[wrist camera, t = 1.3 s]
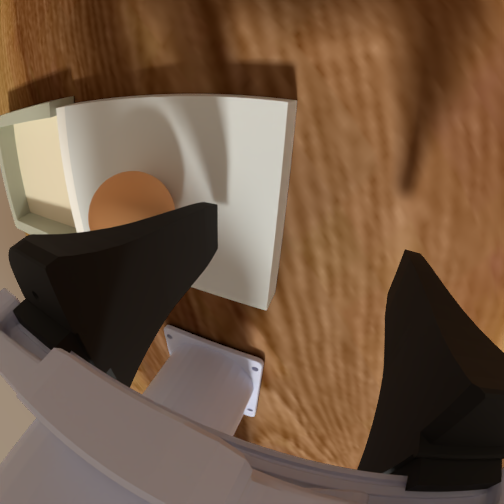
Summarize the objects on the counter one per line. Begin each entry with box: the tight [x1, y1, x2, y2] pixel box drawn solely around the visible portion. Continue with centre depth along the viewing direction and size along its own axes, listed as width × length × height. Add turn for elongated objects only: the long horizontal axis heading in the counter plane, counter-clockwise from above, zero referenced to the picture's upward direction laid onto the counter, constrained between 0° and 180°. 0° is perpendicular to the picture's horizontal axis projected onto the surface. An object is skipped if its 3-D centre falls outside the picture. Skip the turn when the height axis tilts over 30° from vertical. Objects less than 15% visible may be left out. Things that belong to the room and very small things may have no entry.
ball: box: [88, 171, 175, 231], centre depth 12 cm, size 4×4×4 cm
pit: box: [0, 96, 77, 234], centre depth 18 cm, size 11×11×2 cm
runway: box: [56, 94, 297, 310], centre depth 15 cm, size 10×14×2 cm
